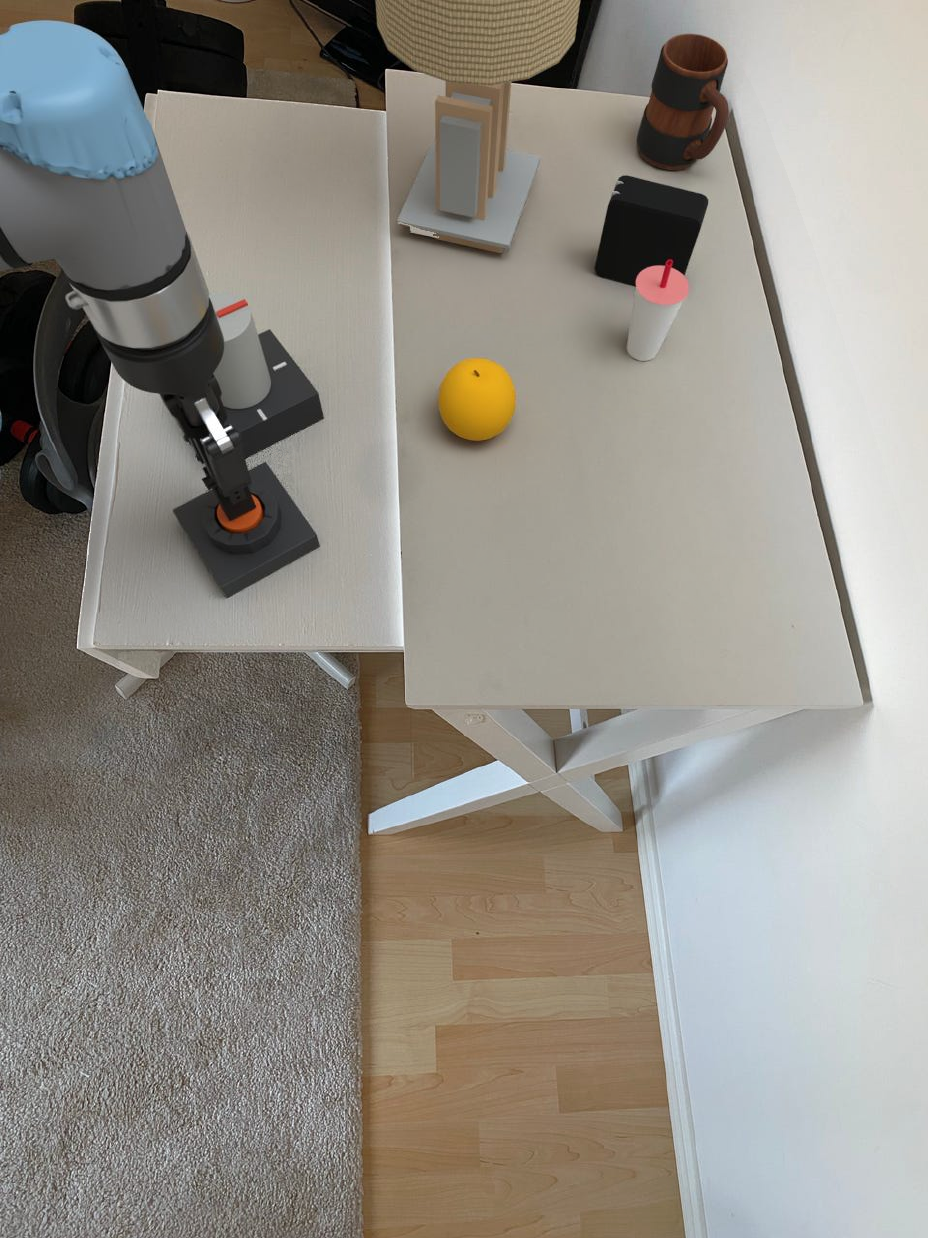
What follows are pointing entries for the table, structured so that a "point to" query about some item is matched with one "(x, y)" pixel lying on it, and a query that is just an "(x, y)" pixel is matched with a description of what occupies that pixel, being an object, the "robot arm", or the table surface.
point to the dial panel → (277, 402)
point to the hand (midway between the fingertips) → (239, 508)
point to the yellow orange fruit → (477, 399)
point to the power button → (242, 519)
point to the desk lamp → (475, 106)
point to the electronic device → (648, 228)
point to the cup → (654, 309)
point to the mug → (684, 103)
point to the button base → (248, 534)
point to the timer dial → (239, 354)
